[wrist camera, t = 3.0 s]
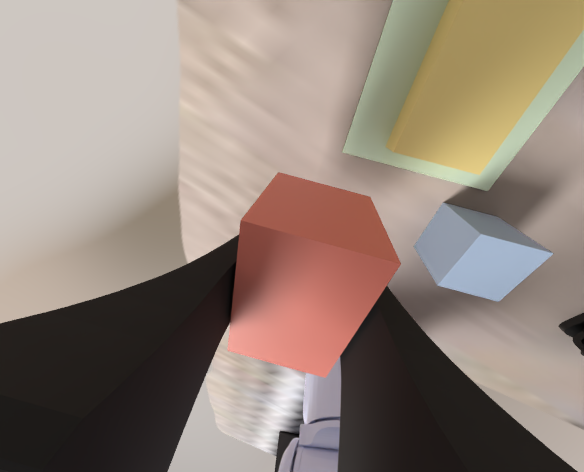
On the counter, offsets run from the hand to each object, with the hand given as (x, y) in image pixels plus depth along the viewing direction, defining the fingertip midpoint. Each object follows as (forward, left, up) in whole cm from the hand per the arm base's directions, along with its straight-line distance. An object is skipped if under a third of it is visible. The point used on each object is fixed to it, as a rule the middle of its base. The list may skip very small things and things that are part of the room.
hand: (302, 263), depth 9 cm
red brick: (0, 0, -2) cm, 2 cm away
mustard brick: (+9, -6, -8) cm, 13 cm away
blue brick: (0, -11, -8) cm, 14 cm away
